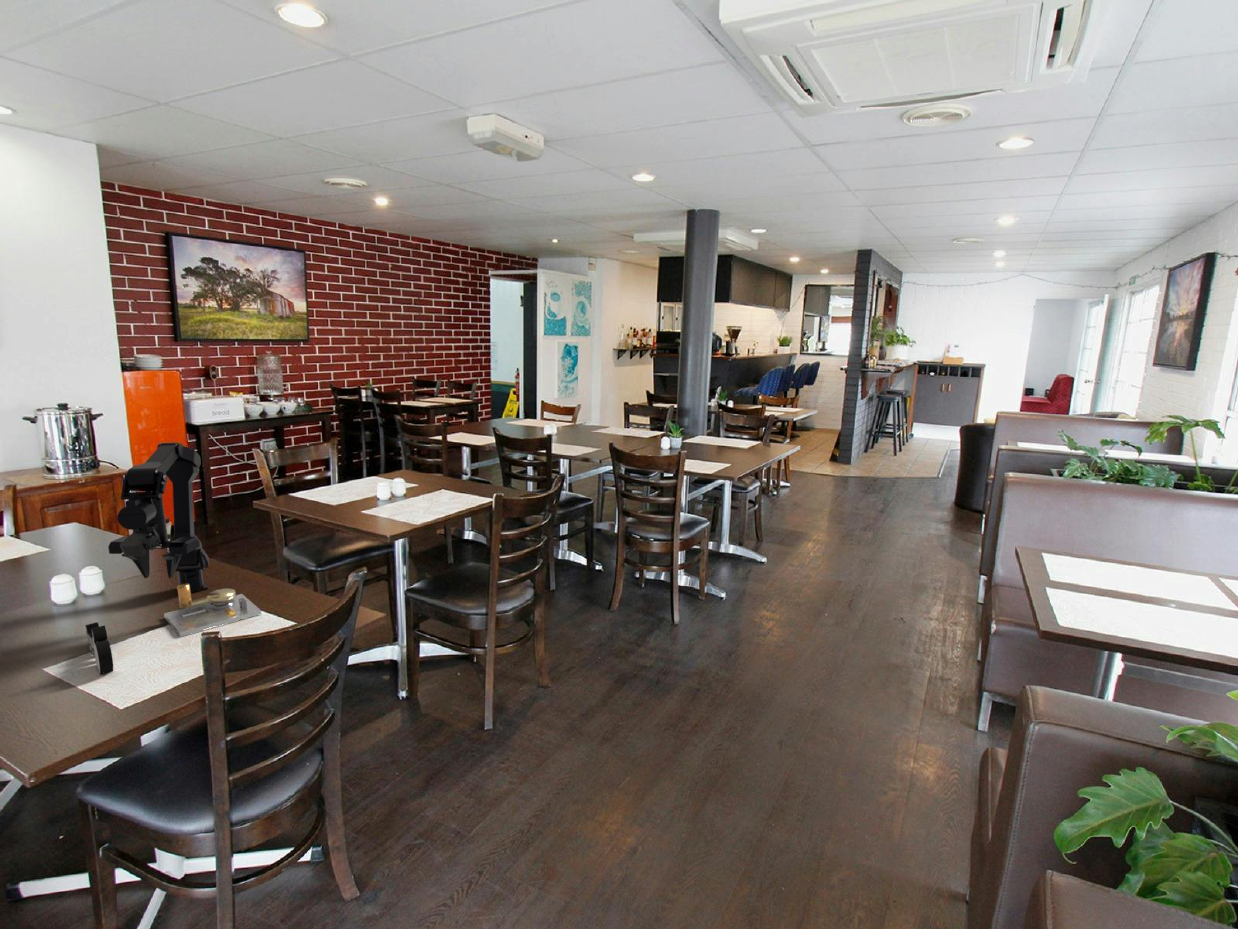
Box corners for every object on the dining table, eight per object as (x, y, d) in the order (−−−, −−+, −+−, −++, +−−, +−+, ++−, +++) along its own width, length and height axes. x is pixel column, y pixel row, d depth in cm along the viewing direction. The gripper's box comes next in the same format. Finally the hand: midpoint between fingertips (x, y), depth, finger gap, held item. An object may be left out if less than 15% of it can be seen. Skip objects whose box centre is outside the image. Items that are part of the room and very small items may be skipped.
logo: (115, 673, 136) (107, 627, 136) (101, 677, 135) (93, 631, 134) (103, 657, 152) (95, 616, 151) (91, 660, 150) (83, 619, 150)
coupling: (231, 590, 173) (229, 570, 172) (239, 597, 169) (236, 577, 168) (176, 604, 164) (174, 583, 163) (183, 611, 160) (180, 590, 159)
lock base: (164, 617, 164) (162, 604, 163) (242, 597, 177) (241, 585, 176) (180, 637, 154) (178, 623, 153) (261, 614, 167) (260, 601, 166)
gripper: (86, 527, 149) (95, 590, 152) (168, 528, 149) (176, 590, 153) (120, 513, 160) (129, 573, 163) (197, 514, 160) (204, 573, 164)
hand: (159, 577), depth 160 cm, fingers open, 6 cm apart
